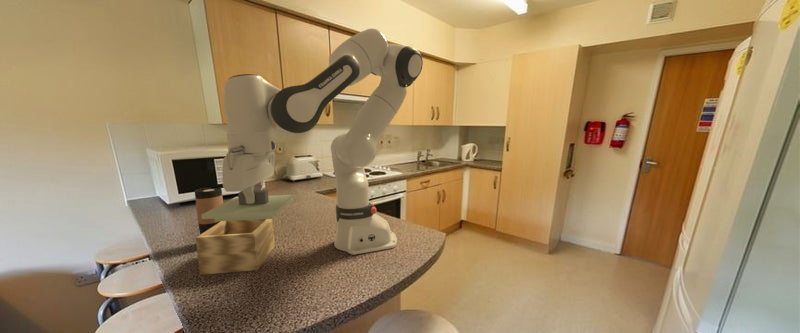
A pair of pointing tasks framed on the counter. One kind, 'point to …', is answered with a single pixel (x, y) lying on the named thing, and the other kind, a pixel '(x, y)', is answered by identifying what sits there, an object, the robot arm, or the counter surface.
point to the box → (235, 246)
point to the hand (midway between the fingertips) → (254, 201)
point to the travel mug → (207, 205)
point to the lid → (249, 207)
